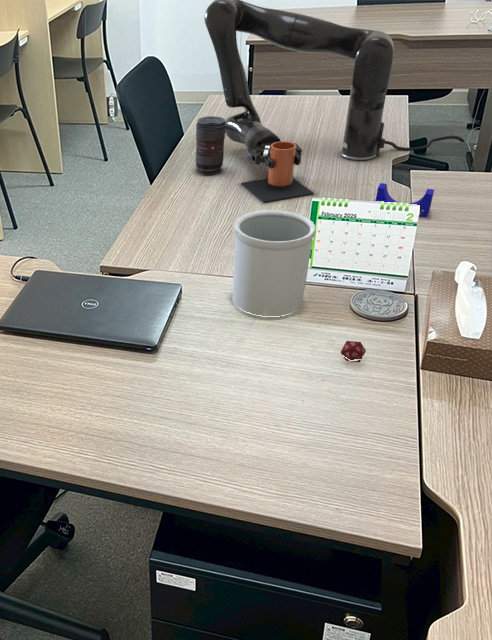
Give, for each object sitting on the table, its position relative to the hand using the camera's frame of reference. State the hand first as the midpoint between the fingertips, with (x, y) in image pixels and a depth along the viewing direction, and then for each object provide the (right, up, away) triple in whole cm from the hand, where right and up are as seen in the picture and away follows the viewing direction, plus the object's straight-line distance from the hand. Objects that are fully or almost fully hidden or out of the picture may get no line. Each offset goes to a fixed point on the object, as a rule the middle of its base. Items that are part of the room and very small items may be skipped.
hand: (285, 163), depth 185 cm
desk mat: (0, -6, +6) cm, 8 cm away
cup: (0, -4, +5) cm, 6 cm away
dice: (-8, -50, -58) cm, 77 cm away
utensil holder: (-17, -39, -40) cm, 58 cm away
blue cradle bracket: (+24, -15, -12) cm, 31 cm away
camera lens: (-15, +3, +21) cm, 26 cm away
